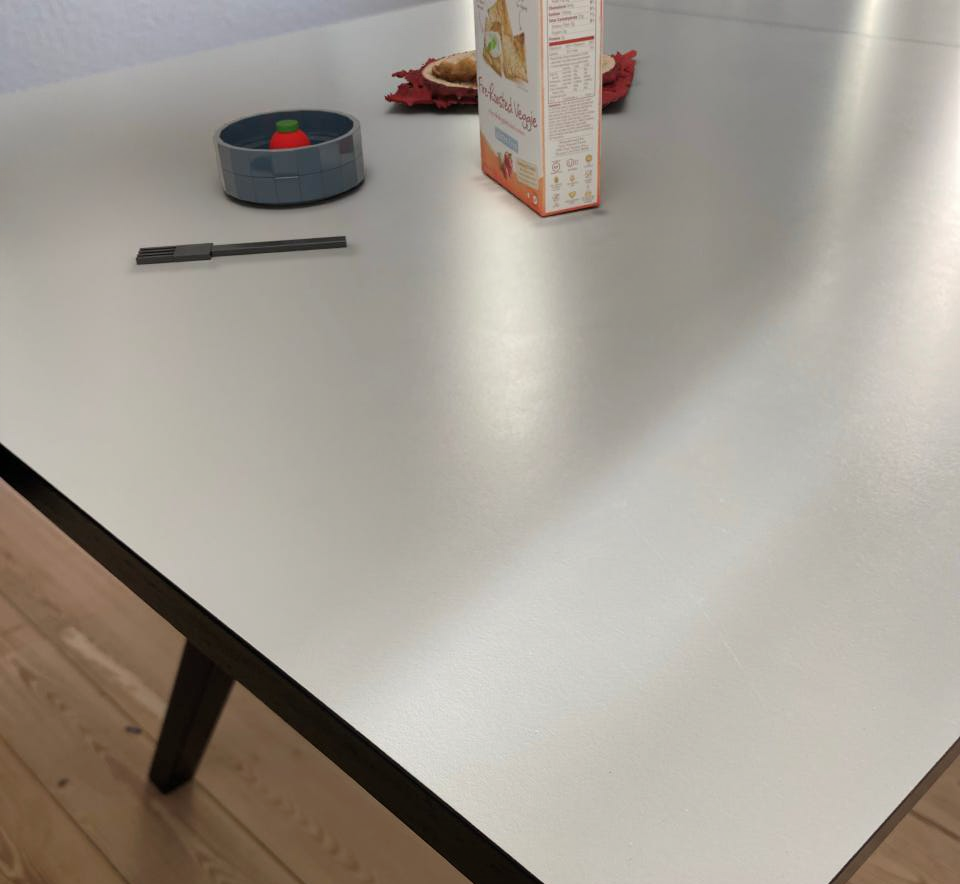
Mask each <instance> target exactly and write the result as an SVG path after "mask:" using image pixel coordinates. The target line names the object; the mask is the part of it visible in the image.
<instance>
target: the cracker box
mask: <svg viewBox="0 0 960 884" xmlns="http://www.w3.org/2000/svg"><path fill="white" fill-rule="evenodd" d="M604 1H605V0H472V2H473V4H472V5H473V24H474V27H473V28H474V45H475V50H476V68H477V87H478V94H477V98H478V103H477V105H478V122H479V124H478V126H479V145H480V146H479V147H480V163H481V164H480V165H481V171H482V172H484V173H485V174H487V175H488V176H489V177H490V178H492V179H493V180H495V182H497V183H498V184H500V185H501V186H502V187H503V188H504V189H506V190H507V191H509V192H510V193H511V194H513V195H514V196H515V197H517V198H518V199H519V200H521V201H522V202H523V203H524V204H526V205H527V206H529V208H531V209H532V210H533V211H535V212H536V213H538V214H539V215H540V216H541V217H548V216H553V215H558V214H562V213H567V212H572V211H576V210H581V209H586V208H592V207H596V206H600V204H601V165H602V164H601V161H602V113H603V112H602V109H603V108H602V62H603V54H604V48H603V47H604V8H605V7H604V6H605V5H604V3H605V2H604Z"/></svg>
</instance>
